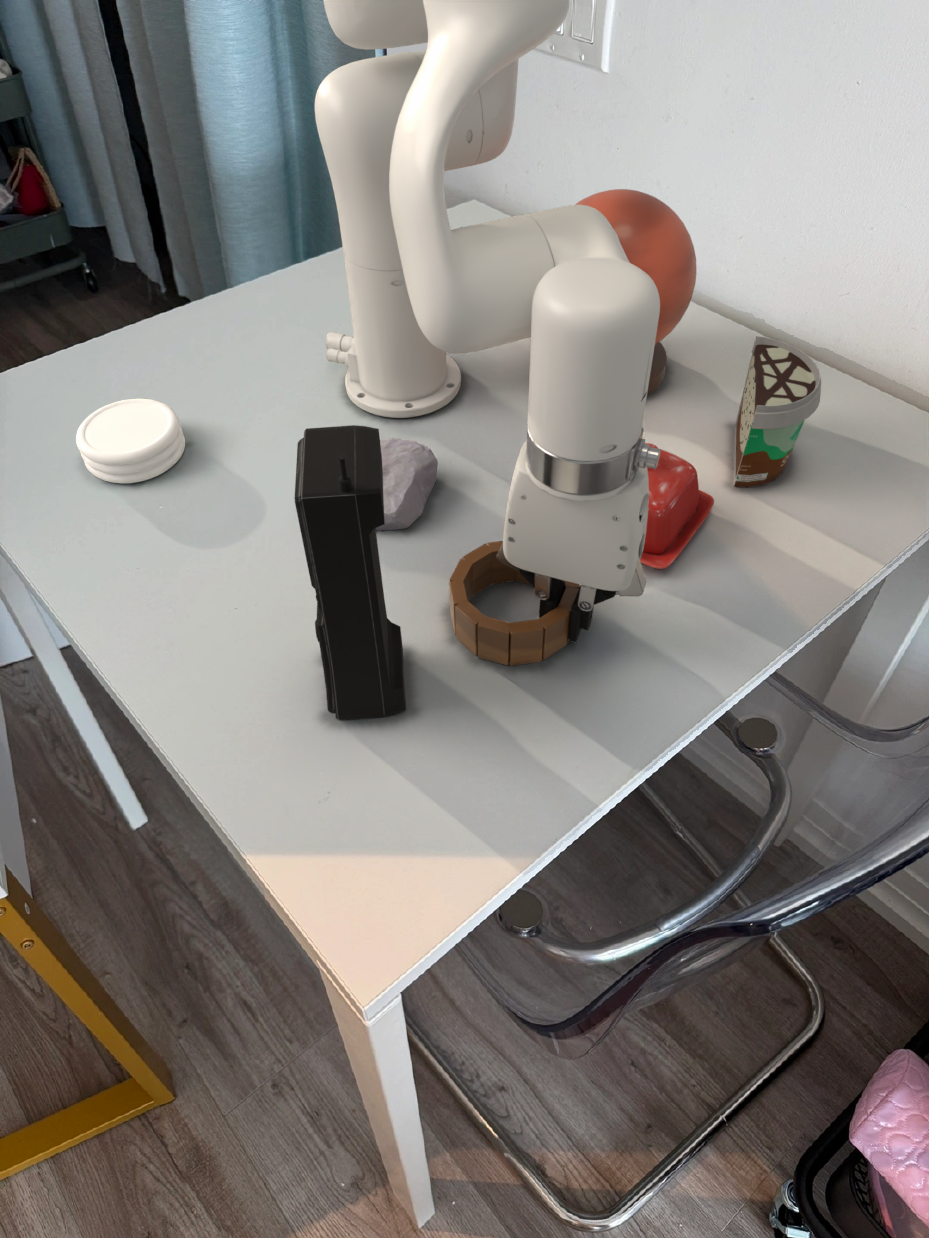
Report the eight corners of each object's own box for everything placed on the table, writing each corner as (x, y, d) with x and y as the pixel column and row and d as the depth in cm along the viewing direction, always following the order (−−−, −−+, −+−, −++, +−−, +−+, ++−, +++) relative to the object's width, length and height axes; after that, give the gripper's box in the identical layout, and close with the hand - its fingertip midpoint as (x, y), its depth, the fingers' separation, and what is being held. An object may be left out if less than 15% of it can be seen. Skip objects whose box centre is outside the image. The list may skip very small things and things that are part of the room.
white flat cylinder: (133, 414, 97) (123, 386, 94) (206, 440, 93) (198, 412, 91) (65, 468, 91) (52, 439, 88) (140, 497, 88) (129, 469, 85)
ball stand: (513, 396, 98) (517, 221, 83) (556, 320, 107) (567, 153, 93) (660, 426, 94) (691, 248, 79) (691, 345, 103) (723, 173, 89)
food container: (800, 504, 85) (830, 416, 78) (733, 496, 86) (757, 409, 79) (795, 425, 93) (823, 339, 86) (734, 419, 94) (756, 333, 86)
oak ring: (433, 645, 75) (431, 612, 72) (477, 560, 81) (476, 528, 78) (554, 679, 72) (557, 647, 69) (589, 589, 79) (593, 556, 76)
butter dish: (549, 534, 83) (554, 460, 77) (609, 466, 89) (618, 393, 83) (663, 583, 79) (679, 510, 72) (718, 509, 85) (736, 435, 79)
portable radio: (329, 644, 75) (277, 387, 56) (402, 638, 75) (374, 381, 56) (328, 722, 70) (270, 468, 51) (406, 716, 70) (377, 461, 51)
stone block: (411, 551, 85) (446, 469, 89) (401, 520, 80) (438, 436, 85) (297, 527, 88) (336, 450, 92) (282, 496, 84) (324, 416, 88)
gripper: (707, 440, 62) (667, 618, 76) (491, 395, 66) (491, 573, 79) (685, 509, 57) (646, 686, 71) (454, 458, 61) (460, 634, 75)
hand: (564, 625), depth 75 cm, fingers closed on oak ring, 1 cm apart
